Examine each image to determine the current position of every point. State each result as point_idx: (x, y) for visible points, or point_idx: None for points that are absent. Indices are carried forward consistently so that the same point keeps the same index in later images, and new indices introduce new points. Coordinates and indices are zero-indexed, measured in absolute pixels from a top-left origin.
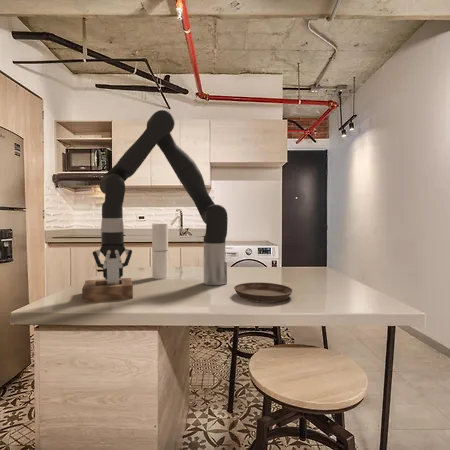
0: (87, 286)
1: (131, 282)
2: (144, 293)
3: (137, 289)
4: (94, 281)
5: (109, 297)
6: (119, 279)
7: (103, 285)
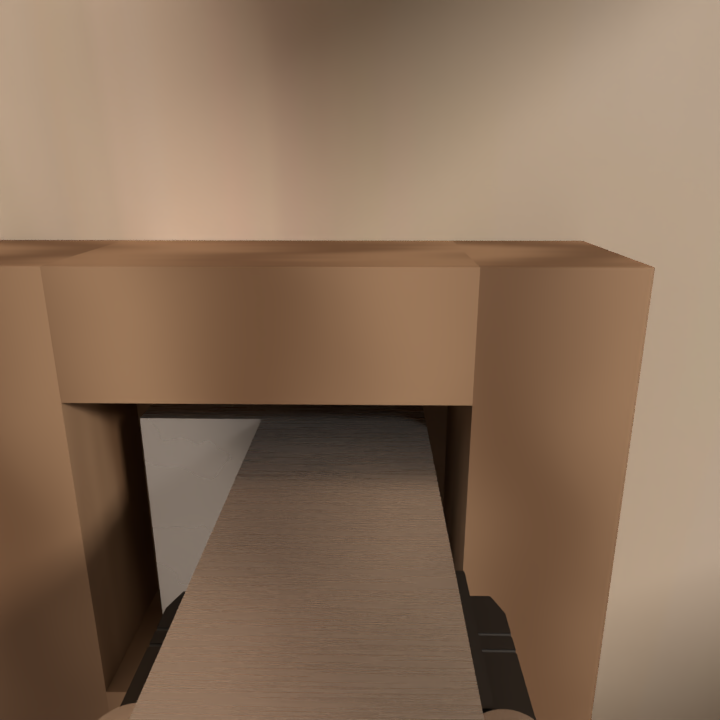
0: (24, 687)
1: (596, 633)
2: (698, 509)
3: (668, 272)
4: (43, 395)
5: None
6: (443, 358)
7: (205, 426)
